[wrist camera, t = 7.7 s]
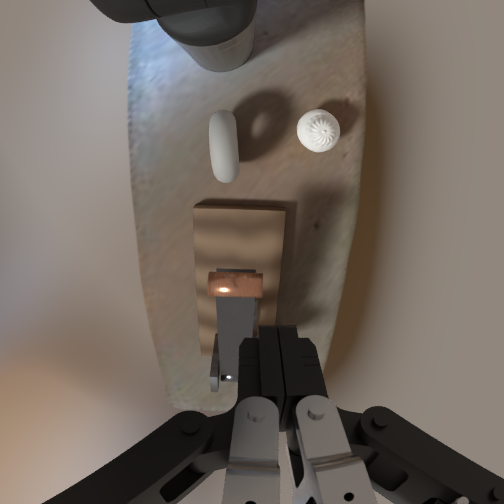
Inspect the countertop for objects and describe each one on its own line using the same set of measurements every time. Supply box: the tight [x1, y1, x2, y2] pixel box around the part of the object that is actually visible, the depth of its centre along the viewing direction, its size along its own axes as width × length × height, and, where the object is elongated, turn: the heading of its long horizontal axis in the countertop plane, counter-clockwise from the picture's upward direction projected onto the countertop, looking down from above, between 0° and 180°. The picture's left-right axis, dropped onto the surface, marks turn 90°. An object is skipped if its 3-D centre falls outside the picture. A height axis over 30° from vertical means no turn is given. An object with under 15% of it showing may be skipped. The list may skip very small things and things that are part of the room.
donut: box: [209, 110, 239, 183], centre depth 39 cm, size 10×4×10 cm, turn 3°
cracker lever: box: [208, 268, 263, 382], centre depth 44 cm, size 24×6×6 cm, turn 178°
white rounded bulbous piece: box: [297, 109, 340, 152], centre depth 39 cm, size 6×6×7 cm
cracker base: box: [193, 205, 286, 392], centre depth 48 cm, size 30×14×13 cm, turn 178°
